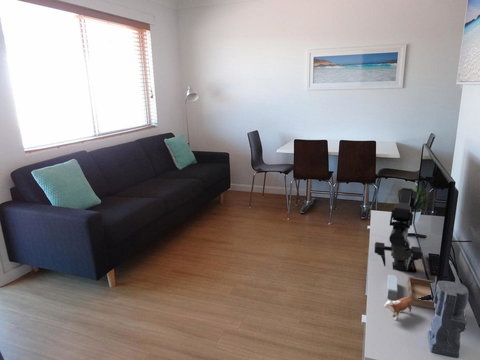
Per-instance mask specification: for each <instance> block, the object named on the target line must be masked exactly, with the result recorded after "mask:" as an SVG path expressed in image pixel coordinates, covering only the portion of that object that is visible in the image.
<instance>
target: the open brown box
mask: <svg viewBox="0 0 480 360" xmlns="http://www.w3.org/2000/svg"><path fill="white" fill-rule="evenodd" d="M433 281H434V280H429V279H423V278H418V277H413V276H412V277H410V276H408V278H407V287H408V297H409V296H410V297H411V299H412V301H413V302H412V305H411V306H416V307H423V308H427V309H434V302H433V301H427V300H421V299H418V298H421V297H424V296H427V295H431V290H430V286H429V283H433ZM434 310H435V309H434Z"/></svg>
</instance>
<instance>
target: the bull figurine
mask: <svg viewBox="0 0 480 360" xmlns="http://www.w3.org/2000/svg"><path fill="white" fill-rule="evenodd" d="M412 302H413V301H412V299H411V297H410V296H409V295H408V296H404V297H402V298H399V299H397V300H392V301H391V299H388V300H387V301H386V302H385V304H383V308H384V309H389V310H390V311H391V313H392V315H391V316H392V317H394V318H393V320H394V321H398V317H399V314H400V313H403V311H406V310H407V309H408V312H407V315H411V314H412V309H413V307H412V306H413V305H412Z"/></svg>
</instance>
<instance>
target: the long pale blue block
mask: <svg viewBox="0 0 480 360" xmlns="http://www.w3.org/2000/svg"><path fill="white" fill-rule="evenodd" d="M397 277H398V276H397V275H393V274H387V281H386V284H387V285H386V286H387V287H386V289H387V292H386V294H387V299H388V300H392V301H396V300H398V280H397Z"/></svg>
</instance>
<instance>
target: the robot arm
mask: <svg viewBox="0 0 480 360" xmlns="http://www.w3.org/2000/svg"><path fill="white" fill-rule="evenodd" d="M418 193H419V192H417V191H416V190H414V189H413V188H409V187H401V188H400V189H398V190H397V197H396V198H397V200H398V203H397V204H395V205H394V207H393V208H392V210H391V213H390V218H389V219H390V220H389V226H390V227H392V229H391V232H390V235H389V243H390V244H391V245H390V246H388V245H386V244H385V243H384V242H378V241H376V242H375V243H374V254H376V255H378V256H379V257H380V258H381V260H382V264H383V267H386V252H391V253H390V255H391V257H392V258H393V261H392V264H391V265H392V269H393V270H396V271H397V270H398V271H403V272H404V271H405V272H407V271H408V270H409V269H410V268H411V266H412V265H413V263H414V262H415V261H419V260H422V259H423V256H424V253H423V248H422V247H419V246H411V242H410V241H409V239H408V236H409V235H408V234H409V229H411V227H412V225H413V221H414V212H413V211H412V209H413V208H414V207H415V205H416V203H418V198H419V197H418V196H419V195H418ZM385 245H386V246H385ZM410 246H411V247H410Z"/></svg>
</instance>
